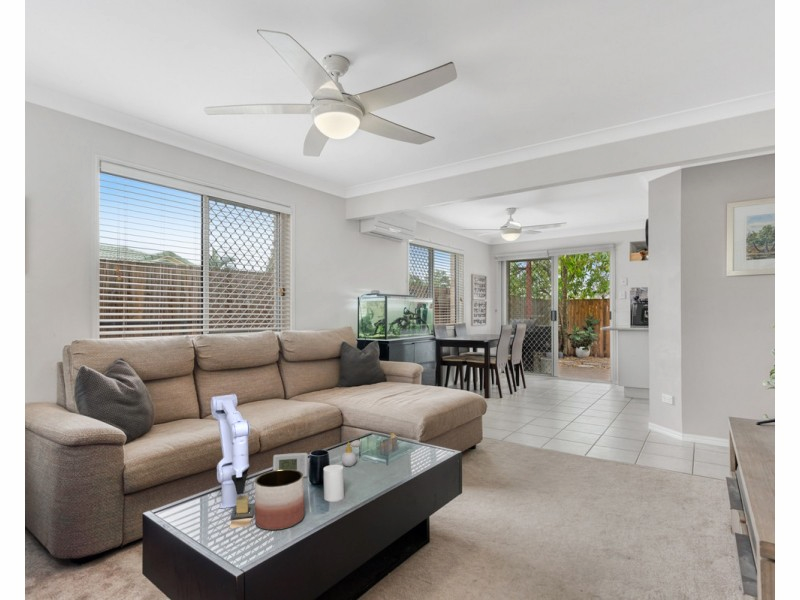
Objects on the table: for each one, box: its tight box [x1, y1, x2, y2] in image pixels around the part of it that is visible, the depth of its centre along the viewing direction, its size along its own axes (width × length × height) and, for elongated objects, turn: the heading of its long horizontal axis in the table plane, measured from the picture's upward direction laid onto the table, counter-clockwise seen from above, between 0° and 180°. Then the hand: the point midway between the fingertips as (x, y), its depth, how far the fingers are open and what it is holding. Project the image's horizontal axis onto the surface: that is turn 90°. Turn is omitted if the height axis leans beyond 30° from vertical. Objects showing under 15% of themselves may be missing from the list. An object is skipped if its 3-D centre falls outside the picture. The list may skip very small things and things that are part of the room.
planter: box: [254, 469, 306, 531], centre depth 164 cm, size 18×18×16 cm
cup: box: [323, 464, 345, 502], centre depth 182 cm, size 8×8×12 cm
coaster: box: [229, 518, 252, 529], centre depth 161 cm, size 5×7×1 cm
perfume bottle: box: [341, 439, 362, 468], centre depth 220 cm, size 8×10×12 cm
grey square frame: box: [230, 502, 255, 522], centre depth 169 cm, size 9×8×2 cm
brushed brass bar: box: [236, 494, 250, 515], centre depth 168 cm, size 4×4×7 cm
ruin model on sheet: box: [379, 432, 398, 457], centre depth 238 cm, size 11×3×10 cm, turn 141°
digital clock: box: [272, 452, 309, 479], centre depth 206 cm, size 16×9×11 cm, turn 86°
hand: (241, 489), depth 167 cm, fingers open, 7 cm apart
